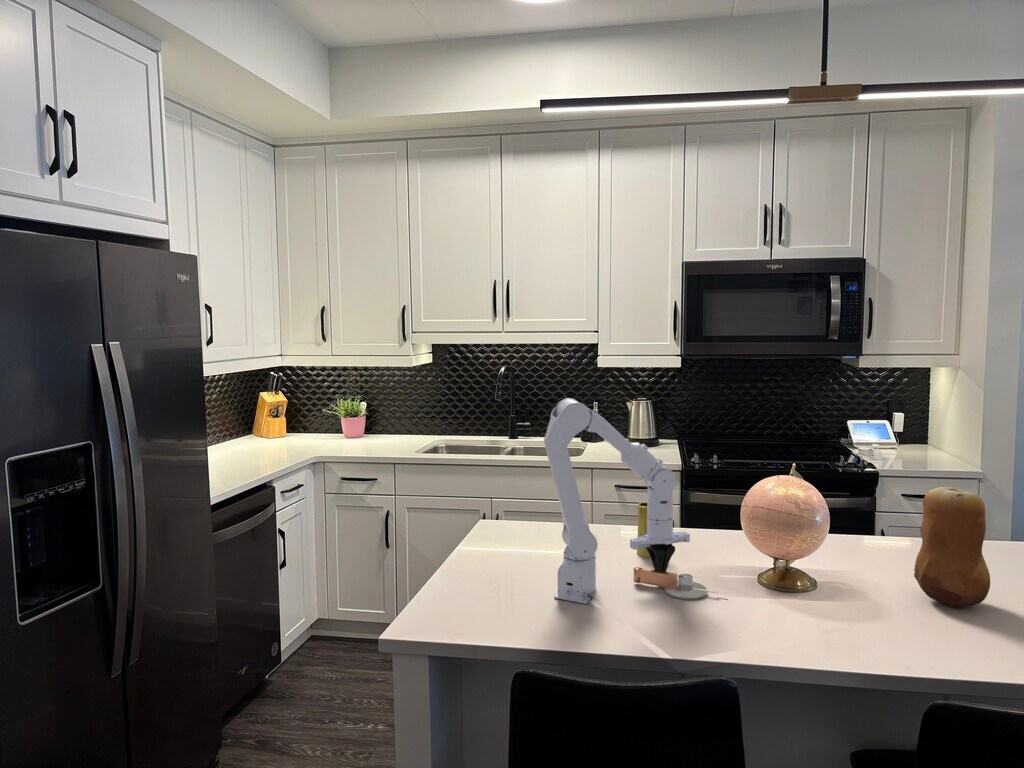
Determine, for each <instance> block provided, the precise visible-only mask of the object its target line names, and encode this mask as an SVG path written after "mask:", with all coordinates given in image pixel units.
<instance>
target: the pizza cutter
mask: <svg viewBox="0 0 1024 768" xmlns="http://www.w3.org/2000/svg"><path fill="white" fill-rule="evenodd" d="M693 577H694V576H693V575H692V574H691V573H690V574H689V573H680V574H679V575H678V573H676V572H669V571H666V572H664V571H657V570H654V569H650V568H642V567H640V566H636V567H633V582H634V583H636V584H644V585H651V586H655V587H656V586H657V587H663V588H664V593H665V594H666V595H667V596H668V597H671V598H674V599H677V600H681V601H682V600H683V601H697V600H701V599H704V598H706V596H707V594H708V593H710V594H711V593H712V594H718V593H719V592H718V591H714V590H708V588H707V587H706V586H705V585H704V584H702V583H698V582H697V581H694V579H693Z"/></svg>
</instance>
